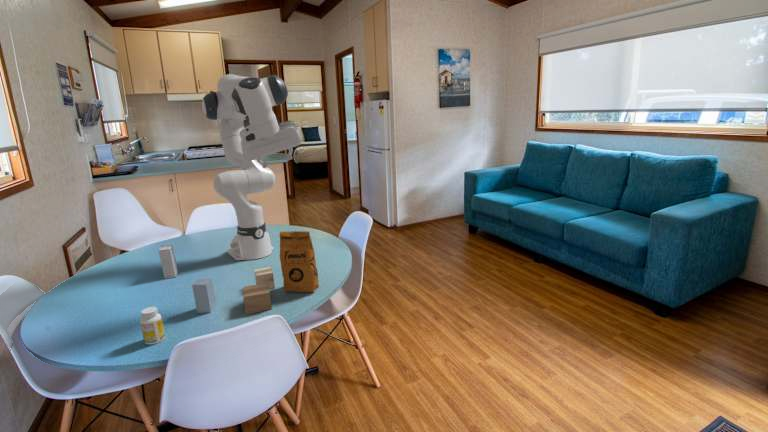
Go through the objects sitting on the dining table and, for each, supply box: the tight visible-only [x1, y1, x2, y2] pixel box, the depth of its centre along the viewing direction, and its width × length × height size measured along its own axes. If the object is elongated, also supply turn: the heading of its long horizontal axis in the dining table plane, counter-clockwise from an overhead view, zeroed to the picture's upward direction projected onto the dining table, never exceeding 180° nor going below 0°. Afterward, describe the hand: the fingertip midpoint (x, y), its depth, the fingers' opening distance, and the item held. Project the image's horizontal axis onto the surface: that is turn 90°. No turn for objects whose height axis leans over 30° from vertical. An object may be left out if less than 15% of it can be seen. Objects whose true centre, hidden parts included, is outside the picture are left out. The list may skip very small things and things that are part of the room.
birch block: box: [253, 266, 276, 290], centre depth 147 cm, size 6×6×6 cm
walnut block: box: [242, 283, 273, 315], centre depth 132 cm, size 8×8×6 cm
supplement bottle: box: [139, 306, 166, 346], centre depth 114 cm, size 5×5×10 cm
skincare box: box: [158, 244, 179, 279], centre depth 160 cm, size 6×4×12 cm
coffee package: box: [279, 230, 320, 293], centre depth 141 cm, size 10×12×22 cm
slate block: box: [191, 278, 217, 314], centre depth 131 cm, size 4×4×10 cm
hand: (277, 163), depth 143 cm, fingers open, 8 cm apart
